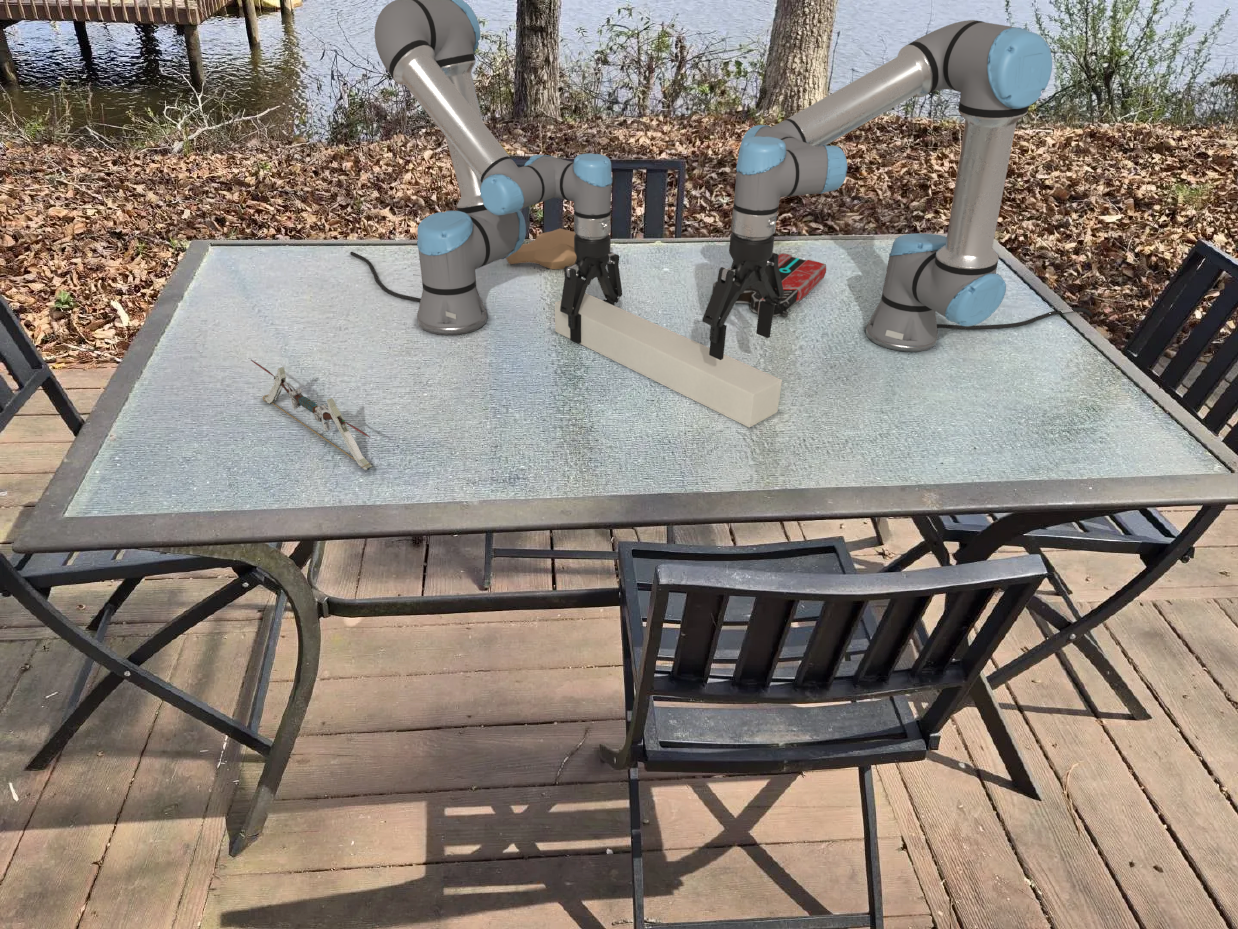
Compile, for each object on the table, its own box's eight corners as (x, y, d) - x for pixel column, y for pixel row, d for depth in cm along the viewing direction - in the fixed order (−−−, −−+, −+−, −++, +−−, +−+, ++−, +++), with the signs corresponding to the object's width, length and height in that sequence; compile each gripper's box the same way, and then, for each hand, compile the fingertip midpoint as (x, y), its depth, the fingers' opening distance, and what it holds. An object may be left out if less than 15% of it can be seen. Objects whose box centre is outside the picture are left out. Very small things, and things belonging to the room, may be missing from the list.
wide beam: (555, 331, 194) (554, 302, 190) (583, 321, 199) (583, 291, 195) (749, 427, 162) (753, 394, 158) (777, 412, 167) (782, 379, 163)
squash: (584, 273, 223) (579, 241, 217) (507, 280, 225) (500, 249, 219) (585, 251, 231) (581, 220, 225) (511, 258, 233) (504, 227, 227)
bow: (382, 473, 146) (374, 421, 141) (372, 477, 145) (364, 425, 140) (264, 393, 168) (253, 345, 162) (255, 396, 167) (243, 348, 161)
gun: (708, 284, 207) (784, 305, 199) (760, 245, 229) (831, 262, 221) (706, 302, 209) (781, 323, 201) (758, 261, 231) (828, 278, 223)
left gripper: (565, 250, 171) (566, 355, 184) (642, 227, 184) (638, 326, 196) (540, 240, 175) (543, 343, 188) (617, 218, 188) (614, 316, 201)
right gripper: (722, 256, 140) (711, 374, 152) (813, 223, 155) (797, 333, 167) (687, 243, 145) (679, 359, 157) (779, 213, 159) (765, 320, 171)
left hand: (591, 334), depth 192 cm, fingers open, 9 cm apart
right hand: (740, 346), depth 162 cm, fingers open, 13 cm apart
